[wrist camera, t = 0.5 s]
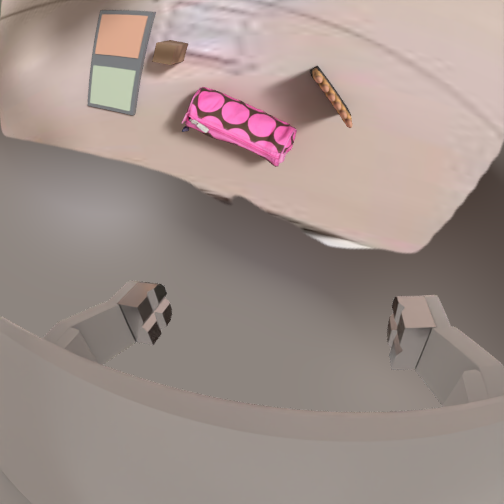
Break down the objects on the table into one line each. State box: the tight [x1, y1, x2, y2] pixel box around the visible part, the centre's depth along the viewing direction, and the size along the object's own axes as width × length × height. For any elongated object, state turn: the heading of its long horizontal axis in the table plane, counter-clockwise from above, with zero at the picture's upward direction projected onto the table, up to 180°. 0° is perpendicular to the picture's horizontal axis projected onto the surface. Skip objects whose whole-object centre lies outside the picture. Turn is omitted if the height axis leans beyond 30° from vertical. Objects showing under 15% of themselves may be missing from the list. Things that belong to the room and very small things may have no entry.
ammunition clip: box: [310, 66, 352, 128], centre depth 41 cm, size 11×2×12 cm, turn 40°
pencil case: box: [182, 87, 297, 167], centre depth 50 cm, size 21×10×10 cm, turn 69°
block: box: [152, 40, 188, 65], centre depth 41 cm, size 4×4×6 cm
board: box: [88, 10, 156, 115], centre depth 44 cm, size 25×14×1 cm, turn 162°
